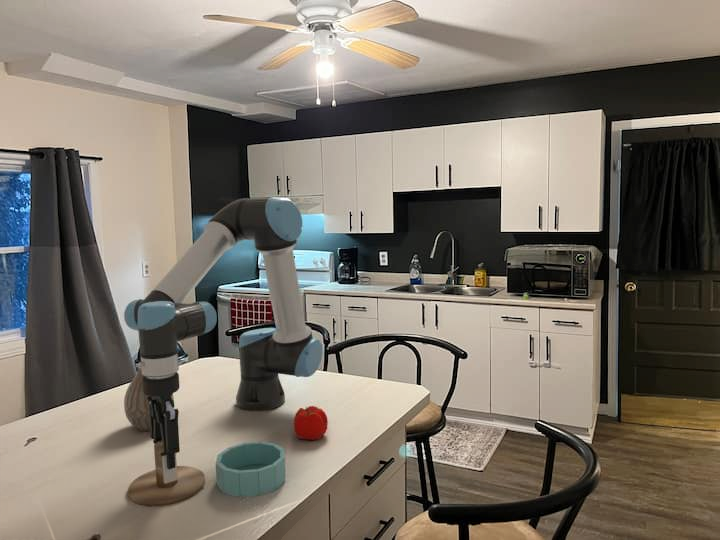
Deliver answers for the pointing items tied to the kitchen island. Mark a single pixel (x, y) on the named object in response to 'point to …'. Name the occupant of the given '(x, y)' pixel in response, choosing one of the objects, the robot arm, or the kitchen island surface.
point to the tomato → (310, 423)
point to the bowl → (250, 469)
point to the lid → (156, 492)
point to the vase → (137, 404)
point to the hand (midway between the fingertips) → (166, 476)
